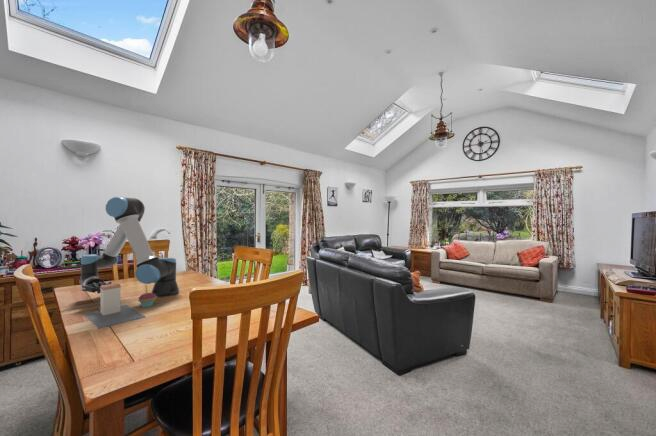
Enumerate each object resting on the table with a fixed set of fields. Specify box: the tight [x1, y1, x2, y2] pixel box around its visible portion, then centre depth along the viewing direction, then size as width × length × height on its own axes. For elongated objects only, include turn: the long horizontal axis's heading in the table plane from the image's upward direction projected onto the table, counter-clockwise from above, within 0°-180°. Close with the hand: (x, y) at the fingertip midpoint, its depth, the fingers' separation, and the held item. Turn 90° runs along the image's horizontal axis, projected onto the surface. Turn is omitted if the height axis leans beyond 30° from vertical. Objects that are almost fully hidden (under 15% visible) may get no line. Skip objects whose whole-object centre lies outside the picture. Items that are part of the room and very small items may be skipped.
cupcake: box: [138, 284, 158, 308], centre depth 149 cm, size 9×8×12 cm
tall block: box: [99, 282, 122, 315], centre depth 137 cm, size 5×7×14 cm
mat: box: [83, 304, 147, 330], centre depth 134 cm, size 28×18×1 cm, turn 53°
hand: (105, 291), depth 138 cm, fingers closed
